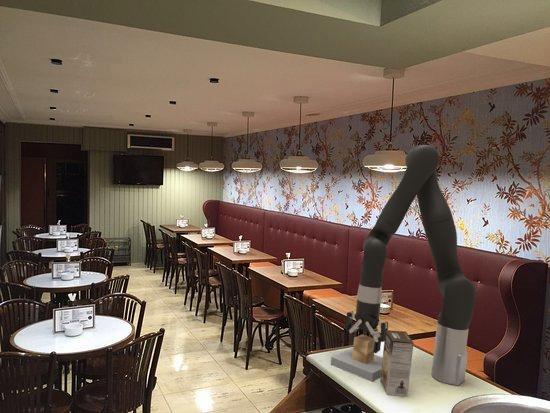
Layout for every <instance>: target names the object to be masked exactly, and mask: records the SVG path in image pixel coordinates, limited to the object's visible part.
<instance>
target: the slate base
mask: <svg viewBox="0 0 550 413" xmlns="http://www.w3.org/2000/svg"><path fill="white" fill-rule="evenodd" d="M352 355H353V347H350V348H348V349H346V350H344V351H342V352H339V353H338V354H335V355H333V356H331V357H330V358H331V359H330V366H333V367H336V368H338V369H340V368H341V369H340V370H343V371H346V372H347V373H351V374H353V375H355V376H358V377H361V378H362V379H365V380H368V381H370V382H374V381H376V380H377V379H378V378H381V368H382V359H383V356H380V355H377V354H374V360H373V361H371V362H369V363H367V364H364V363H362V362H359V361H357V360H354V359H352Z"/></svg>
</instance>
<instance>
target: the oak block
mask: <svg viewBox="0 0 550 413" xmlns="http://www.w3.org/2000/svg"><path fill="white" fill-rule="evenodd" d="M374 342H375V339H374V337H371V336H368V335H365V334H360V335H358V336H357V335H356V337H355V338H354V345H352V346H353V347H352V348H353V355H352V359H354V360H357V361H359V362H362V363H364V364H367V363H369V362H371V361H373V360H374V355H375V353H374V352H373V350H374Z"/></svg>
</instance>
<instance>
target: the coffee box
mask: <svg viewBox="0 0 550 413" xmlns="http://www.w3.org/2000/svg"><path fill="white" fill-rule="evenodd" d="M414 344H415V342H414V341H413V340H412V338H411V337H410V335H409V334H408V332H407V331H403V330H402V331H401V330H390V329H388V330H386V332H385V341H384V343H383V350H382V353H383V354H382V357H383V359H382V368H381V376H380V377H379V378H380V379H379V381H380V383H381V385H382V388H383V389H384V392H385V394H386V395H387V396H399V397H408V392H409V385H410V376H411V368H412V362H413V361H412V360H413V359H412V358H413V352H414Z"/></svg>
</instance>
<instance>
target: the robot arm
mask: <svg viewBox="0 0 550 413" xmlns="http://www.w3.org/2000/svg"><path fill="white" fill-rule="evenodd" d="M439 164H440V154H439V152H438V150H437V149H436V147H434V146H431V145H429V144H421V145H420V144H419V145H416V146H415V147H412V148H411V149H410V150H409V151H408V152H407V153H406V156H405V166H406V169H405V171H404V174H403V177H402V179H401V180H400V182H399V184H398V185H397V188H396V189H395V190H394V191H393V193H392V195H391V196H390V197H389V199H388V200H387V202H386V203H385V204H384V206H383V207H382V208H383V209H382V210H381V212H380V214H379V215H378V217H377V220H376V222H375V223H374V226H373V227H372V229H371V230H370V231H369V233H368V234H367V236H366V238H365V239H364V242H363V244H362V251H363V258H362V268H361V270H360V276H359V285H358V289H357V294H356V296H357V297H356V306H355V311H353V310H350V311H348V312H347V313H346V318H345V323H344V329H345V330H346V331H348V332H349V339H348V341H349V342H348V343H349V344H350V345H352V346H353V345H354V338H355V337H357V331H358V329H359V330H364V331H365V332H368V333H370V335H371V336H372V338H374V339H375V342H374V350H373V352H374V354H378V352H380V351H381V346H382V345H381V344H382V343H383V342H384V341H385V332H386V330H389V322H388V321H387V320H386V321H382V320H380V313H381V306H382V304H381V303H382V297H383V296H382V293H383V290H382V286H383V278H384V277H383V275H384V274H383V273H384V270H385V263H386V259H387V258H386V257H387V246H388V244H389V242H390V240H391V238H392V237H393V236H394V235H395V234H396V233H397V232H398V230H399V228H400V226H401V224H402V223H403V220H404V219H405V217H406V215H407V214H408V211H409V209H410V207H411V205H412V203H413V202H414V200H415V199H416V198H417V203H418V210H419V213H420V219H421V222H422V227H423V230H424V233H425V234H424V235H425V237H426V241H427V243H428V247H429V249H430V252H431V255H432V258H433V260H434V261H433V262H434V264H435V270H436V276H437V282H438V289H439V292H440V294H441V295H442V297H443V301H442V307H441V311H440V312H439V314H438V317H437V321H436V322H437V323H436V331H435V340H434V348H433V358H432V364H431V365H432V366H431V373H430V374H431V376H432V378H434V380H436V381H437V382H438V381H439V382H441V383H443V384H448V385H455V386H457V387H458V386H460V385H461V384H462V383H463V382H464V381H465V379H466V371H467V360H468V353H469V352H468V350H467V346H468V345H467V344H468V343H467V342H468V337H469V330H470V329H469V328H470V323H471V322H472V319H473V315H474V309H475V303H476V287H475V285H474V284H473V282H472V281H471V280H470V279H468V278H467V277H465V275H464V272H463V269H462V267H461V264H460V261H459V257H458V234H457V229H456V225H455V220H454V217H453V213H452V211H451V207H450V206H449V204H448V201H447V199H446V197H445V196H444V193H443V192H442V190H441V187H440V185H439V181H438V177H437V171H436V170H437V168H438V166H439ZM353 320H355V321H356V322H355V324H353ZM378 327H379V328H380V329H379V328H378Z"/></svg>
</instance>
